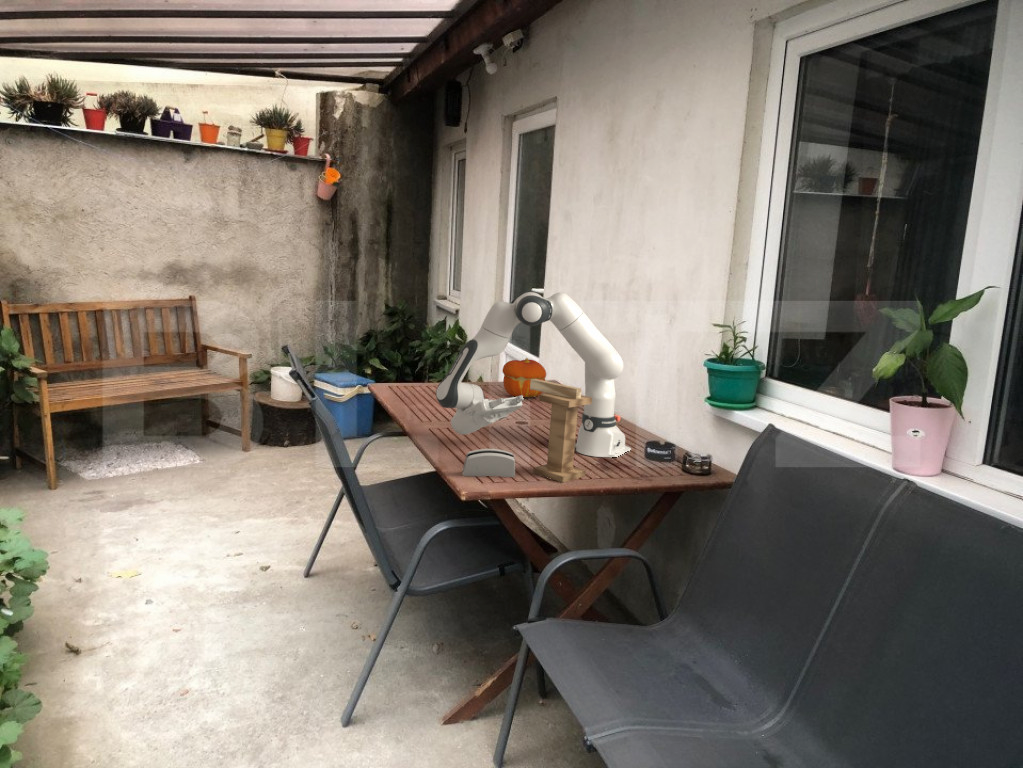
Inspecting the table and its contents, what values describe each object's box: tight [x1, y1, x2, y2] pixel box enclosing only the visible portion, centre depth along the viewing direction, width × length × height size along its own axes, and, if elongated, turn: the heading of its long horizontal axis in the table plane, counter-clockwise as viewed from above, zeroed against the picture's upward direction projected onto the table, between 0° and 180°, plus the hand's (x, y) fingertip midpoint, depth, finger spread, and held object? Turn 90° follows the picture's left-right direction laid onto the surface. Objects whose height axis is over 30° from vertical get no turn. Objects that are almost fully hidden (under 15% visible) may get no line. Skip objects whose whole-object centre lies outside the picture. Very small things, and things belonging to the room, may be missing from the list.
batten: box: [530, 379, 582, 399], centre depth 233 cm, size 2×19×3 cm, turn 48°
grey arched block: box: [462, 448, 516, 478], centre depth 228 cm, size 17×5×10 cm, turn 98°
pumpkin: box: [502, 357, 547, 398], centre depth 364 cm, size 23×23×20 cm
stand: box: [532, 393, 592, 484], centre depth 233 cm, size 12×12×26 cm
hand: (512, 398), depth 246 cm, fingers open, 8 cm apart
